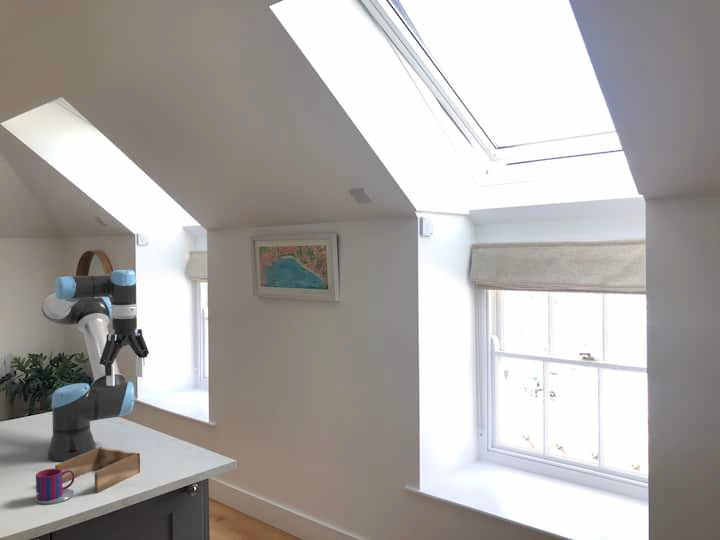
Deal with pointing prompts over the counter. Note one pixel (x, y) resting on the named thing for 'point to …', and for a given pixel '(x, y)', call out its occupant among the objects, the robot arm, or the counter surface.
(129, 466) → the walnut bay
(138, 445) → the counter surface
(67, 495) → the slate coaster
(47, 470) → the mug
